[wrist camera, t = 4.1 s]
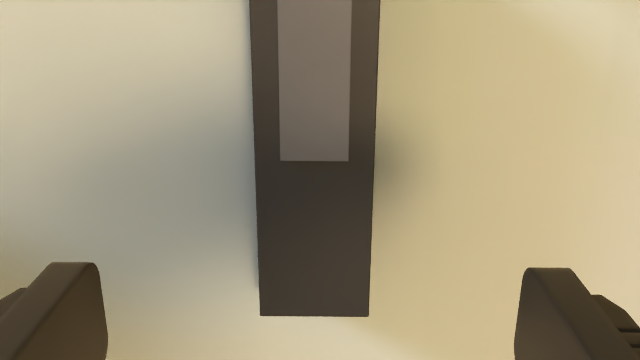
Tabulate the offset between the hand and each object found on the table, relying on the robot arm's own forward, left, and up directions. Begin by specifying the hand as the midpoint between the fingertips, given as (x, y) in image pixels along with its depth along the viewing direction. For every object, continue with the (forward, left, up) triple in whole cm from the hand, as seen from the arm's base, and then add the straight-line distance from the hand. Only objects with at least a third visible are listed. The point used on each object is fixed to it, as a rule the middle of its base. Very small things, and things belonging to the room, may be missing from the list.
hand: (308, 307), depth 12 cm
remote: (0, 0, -15) cm, 15 cm away
